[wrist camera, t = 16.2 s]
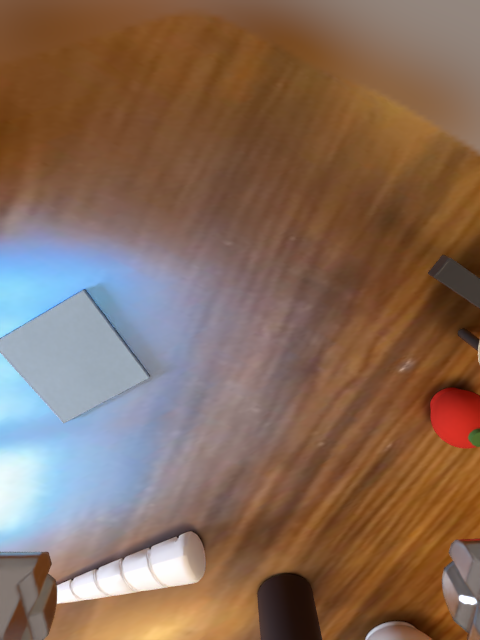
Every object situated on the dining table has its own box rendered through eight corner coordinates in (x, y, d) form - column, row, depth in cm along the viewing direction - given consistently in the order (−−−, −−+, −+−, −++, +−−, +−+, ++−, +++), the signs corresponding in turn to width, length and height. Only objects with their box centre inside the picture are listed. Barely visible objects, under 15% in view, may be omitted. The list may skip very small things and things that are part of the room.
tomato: (426, 379, 41) (457, 414, 36) (480, 379, 41) (518, 413, 36) (416, 425, 43) (444, 464, 38) (467, 424, 43) (502, 463, 38)
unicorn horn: (5, 580, 49) (-16, 623, 45) (192, 520, 47) (189, 559, 42) (27, 605, 51) (9, 649, 46) (208, 548, 49) (207, 588, 44)
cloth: (-6, 341, 38) (-8, 343, 37) (84, 288, 36) (83, 290, 36) (65, 421, 41) (63, 423, 41) (150, 375, 40) (149, 378, 39)
